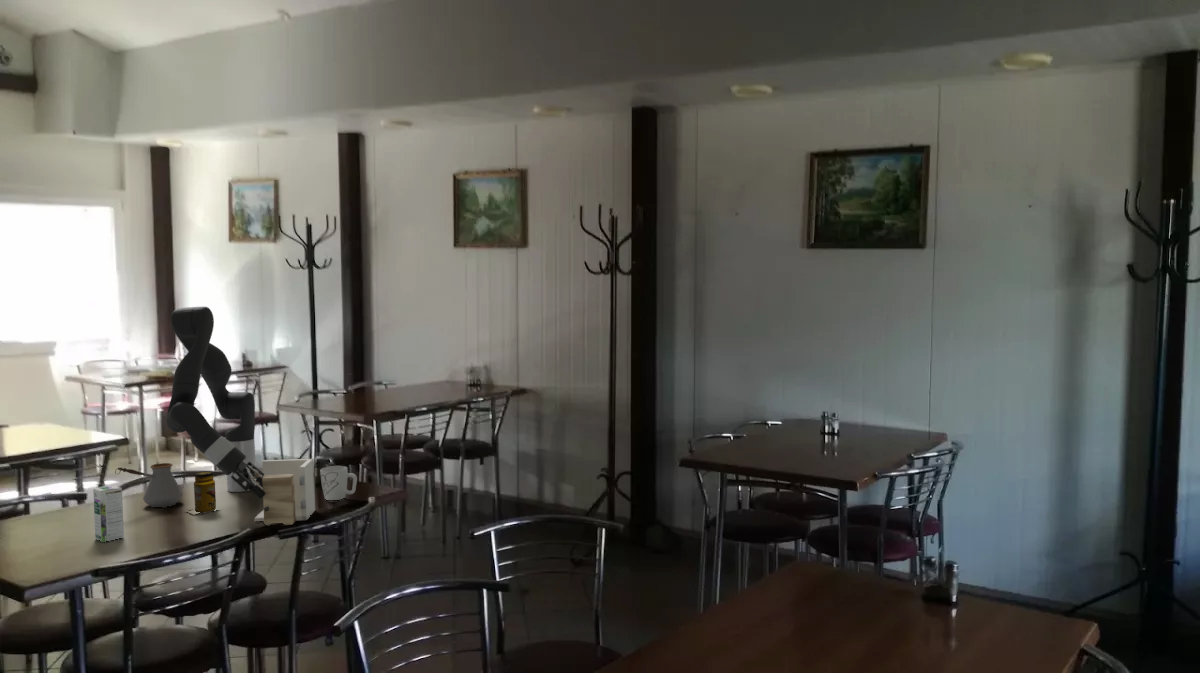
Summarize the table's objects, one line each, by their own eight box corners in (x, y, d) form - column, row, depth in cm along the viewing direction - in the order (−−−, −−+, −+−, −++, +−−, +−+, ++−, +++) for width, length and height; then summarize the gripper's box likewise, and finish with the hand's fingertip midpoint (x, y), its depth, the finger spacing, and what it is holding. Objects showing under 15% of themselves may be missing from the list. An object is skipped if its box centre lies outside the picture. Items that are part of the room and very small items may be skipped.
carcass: (265, 511, 288) (263, 460, 287) (315, 509, 289) (313, 458, 288) (253, 523, 275) (250, 469, 273) (305, 521, 276) (303, 467, 275)
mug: (360, 495, 307) (359, 465, 306) (354, 501, 299) (353, 470, 298) (325, 496, 307) (324, 466, 306) (318, 502, 298) (317, 471, 298)
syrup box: (94, 539, 261) (91, 488, 260) (116, 534, 265) (113, 484, 264) (103, 543, 257) (100, 491, 256) (125, 538, 261) (122, 487, 260)
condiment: (221, 510, 291) (219, 472, 290) (193, 516, 285) (191, 477, 284) (211, 506, 296) (210, 469, 295) (184, 511, 290) (182, 473, 289)
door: (268, 521, 276) (266, 475, 275) (295, 520, 277) (293, 474, 276) (263, 526, 271) (261, 478, 270) (291, 525, 272) (289, 477, 271)
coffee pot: (166, 499, 307) (164, 453, 306) (191, 502, 301) (188, 456, 300) (106, 514, 288) (103, 466, 287) (131, 518, 283) (128, 469, 281)
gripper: (226, 450, 265) (270, 489, 267) (240, 441, 279) (281, 478, 281) (208, 470, 265) (251, 508, 267) (223, 460, 279) (264, 496, 281)
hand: (267, 492), depth 274 cm, fingers open, 8 cm apart
